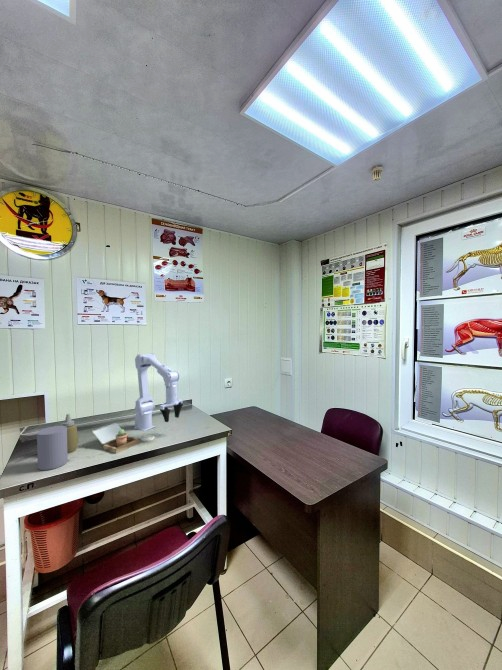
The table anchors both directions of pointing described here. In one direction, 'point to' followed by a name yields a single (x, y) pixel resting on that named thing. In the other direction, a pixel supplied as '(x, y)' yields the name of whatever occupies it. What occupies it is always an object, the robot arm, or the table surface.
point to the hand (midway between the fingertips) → (171, 419)
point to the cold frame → (113, 448)
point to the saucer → (148, 438)
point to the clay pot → (121, 438)
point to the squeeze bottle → (71, 434)
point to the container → (52, 447)
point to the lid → (106, 433)
